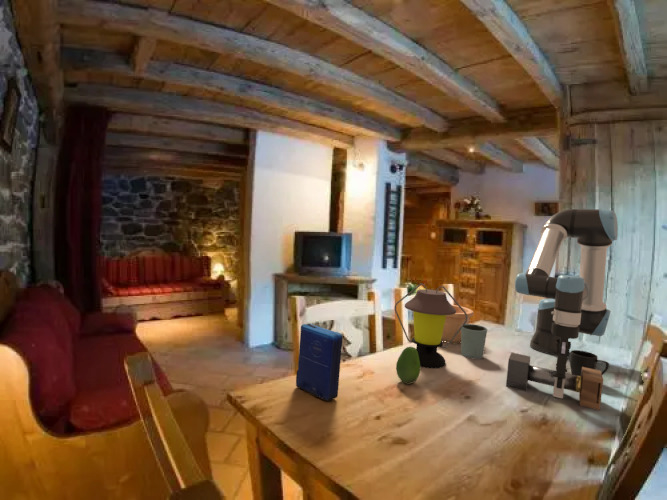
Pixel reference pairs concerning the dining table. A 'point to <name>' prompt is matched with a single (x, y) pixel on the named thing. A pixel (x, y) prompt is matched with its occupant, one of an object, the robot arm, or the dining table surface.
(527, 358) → the sleeve
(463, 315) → the pottery
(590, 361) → the mug
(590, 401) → the socket
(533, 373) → the tube
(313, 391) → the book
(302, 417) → the dining table surface
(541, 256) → the robot arm
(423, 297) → the lantern
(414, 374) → the fruit
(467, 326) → the grey green textured cup
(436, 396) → the dining table surface
